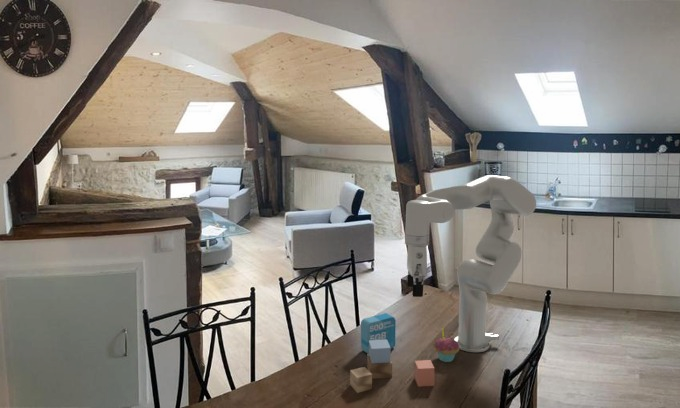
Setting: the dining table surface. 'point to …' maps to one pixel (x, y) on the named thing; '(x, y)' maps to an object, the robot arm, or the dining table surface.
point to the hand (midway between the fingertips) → (414, 291)
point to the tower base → (379, 369)
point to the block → (360, 379)
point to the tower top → (379, 351)
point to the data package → (378, 330)
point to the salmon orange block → (424, 373)
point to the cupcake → (446, 348)
